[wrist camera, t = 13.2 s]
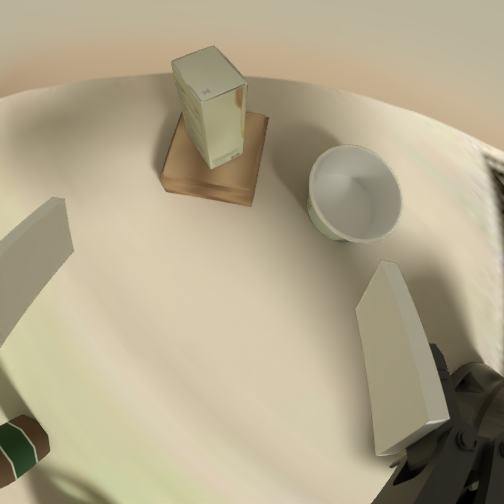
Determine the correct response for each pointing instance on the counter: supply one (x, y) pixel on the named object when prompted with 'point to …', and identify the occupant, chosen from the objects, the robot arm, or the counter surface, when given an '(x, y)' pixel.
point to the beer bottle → (20, 447)
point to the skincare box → (212, 104)
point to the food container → (353, 195)
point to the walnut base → (219, 178)
